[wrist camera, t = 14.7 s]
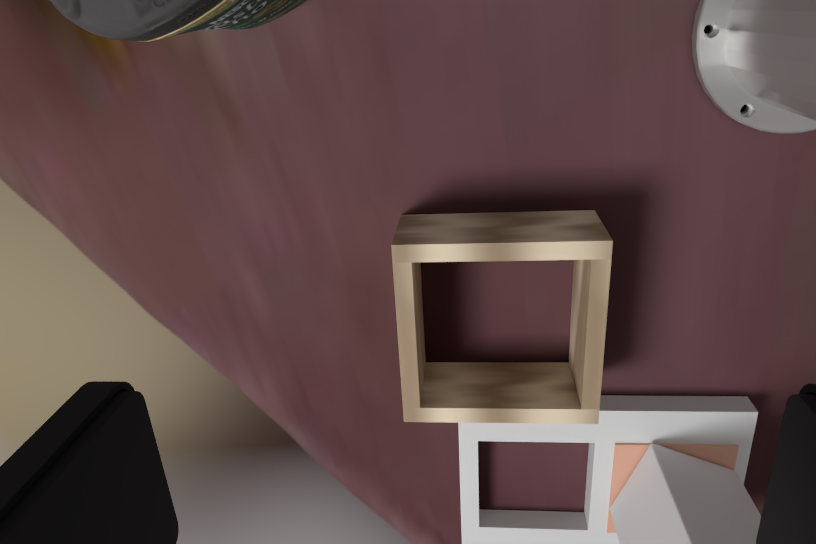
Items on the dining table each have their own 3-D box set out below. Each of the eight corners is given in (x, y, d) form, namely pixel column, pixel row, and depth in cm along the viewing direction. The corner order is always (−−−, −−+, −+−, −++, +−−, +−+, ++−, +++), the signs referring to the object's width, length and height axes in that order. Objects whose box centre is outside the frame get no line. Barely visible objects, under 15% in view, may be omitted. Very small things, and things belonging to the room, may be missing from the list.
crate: (594, 210, 42) (613, 240, 37) (583, 375, 48) (598, 423, 42) (401, 214, 44) (391, 245, 38) (411, 375, 49) (403, 421, 44)
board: (747, 396, 47) (759, 413, 45) (719, 542, 53) (728, 563, 51) (458, 394, 49) (458, 410, 47) (462, 534, 55) (462, 554, 53)
